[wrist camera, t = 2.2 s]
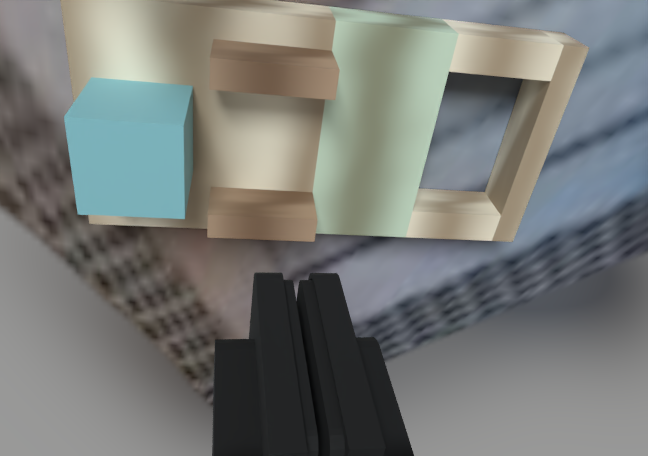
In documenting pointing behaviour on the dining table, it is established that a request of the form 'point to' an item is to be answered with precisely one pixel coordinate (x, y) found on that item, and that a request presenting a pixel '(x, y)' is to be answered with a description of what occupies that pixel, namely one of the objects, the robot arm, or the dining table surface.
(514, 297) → the dining table surface
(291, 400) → the robot arm
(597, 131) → the dining table surface
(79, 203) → the teal cube
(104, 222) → the board
